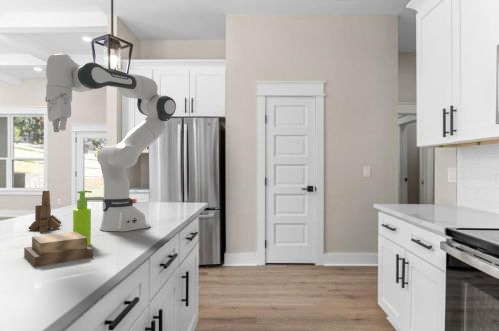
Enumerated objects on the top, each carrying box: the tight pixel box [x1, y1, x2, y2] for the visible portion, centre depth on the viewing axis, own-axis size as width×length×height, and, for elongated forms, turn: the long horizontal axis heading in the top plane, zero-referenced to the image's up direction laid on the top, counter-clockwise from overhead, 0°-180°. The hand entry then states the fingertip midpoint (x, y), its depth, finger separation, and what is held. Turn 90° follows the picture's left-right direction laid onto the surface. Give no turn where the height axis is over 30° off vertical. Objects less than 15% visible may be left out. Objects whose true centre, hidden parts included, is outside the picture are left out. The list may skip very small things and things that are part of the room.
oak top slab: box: [31, 231, 88, 255], centre depth 110 cm, size 13×13×4 cm
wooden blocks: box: [28, 190, 62, 234], centre depth 160 cm, size 25×12×18 cm, turn 26°
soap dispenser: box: [72, 190, 93, 246], centre depth 128 cm, size 6×7×20 cm
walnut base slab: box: [23, 245, 94, 268], centre depth 110 cm, size 16×16×4 cm
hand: (59, 131), depth 133 cm, fingers open, 8 cm apart
